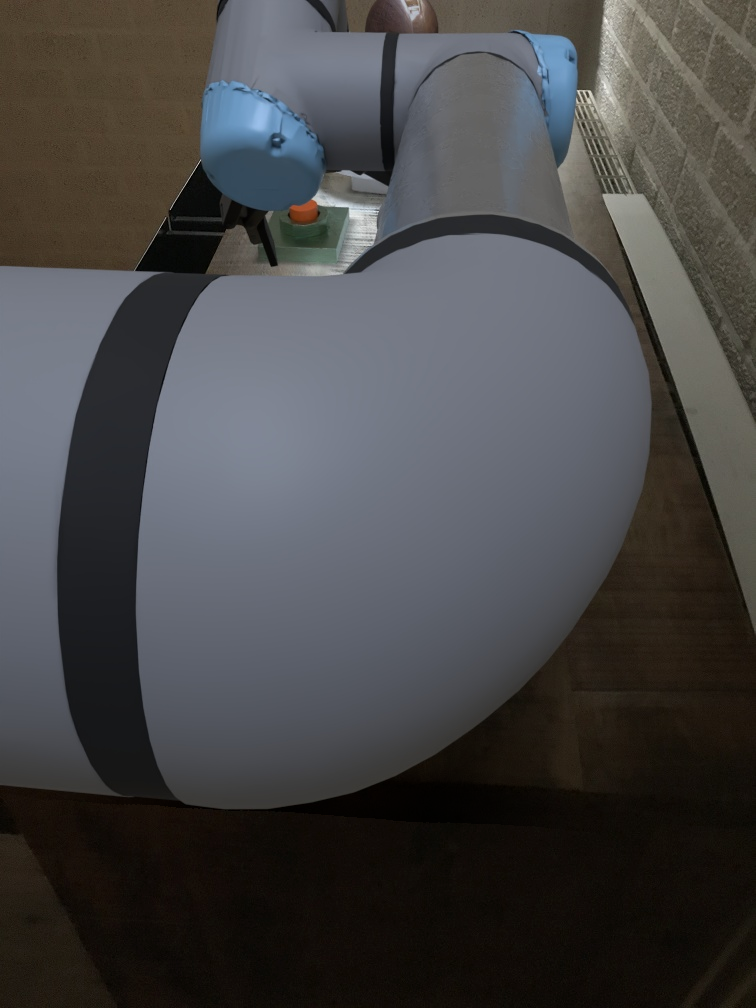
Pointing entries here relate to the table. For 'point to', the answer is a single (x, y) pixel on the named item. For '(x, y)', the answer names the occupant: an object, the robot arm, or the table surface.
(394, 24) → the wooden sphere
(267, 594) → the robot arm
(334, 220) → the button box
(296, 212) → the button
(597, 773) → the table surface
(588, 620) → the table surface
